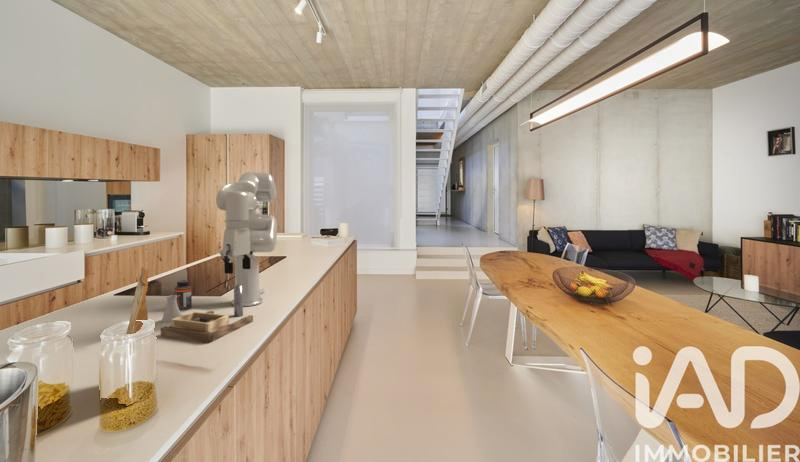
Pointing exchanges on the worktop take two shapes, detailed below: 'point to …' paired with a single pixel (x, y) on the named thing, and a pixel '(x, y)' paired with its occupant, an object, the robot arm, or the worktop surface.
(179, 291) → the supplement bottle
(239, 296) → the handle peg
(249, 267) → the robot arm
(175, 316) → the flask
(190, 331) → the bay
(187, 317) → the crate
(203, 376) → the worktop surface
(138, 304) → the pancake mix bag
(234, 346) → the worktop surface
